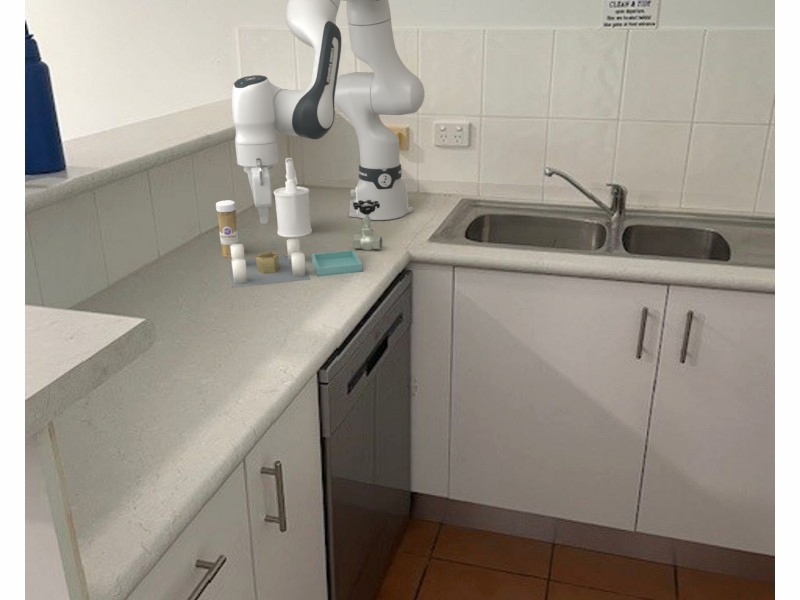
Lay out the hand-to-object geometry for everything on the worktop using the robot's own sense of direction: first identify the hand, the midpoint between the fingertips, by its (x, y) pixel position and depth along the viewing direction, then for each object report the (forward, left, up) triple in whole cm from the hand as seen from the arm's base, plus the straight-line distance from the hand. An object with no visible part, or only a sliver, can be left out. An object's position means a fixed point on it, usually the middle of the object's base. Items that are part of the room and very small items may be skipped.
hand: (262, 217), depth 161 cm
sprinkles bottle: (-14, -8, -13) cm, 21 cm away
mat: (0, 0, -13) cm, 13 cm away
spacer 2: (+5, -6, -13) cm, 15 cm away
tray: (+2, +16, -13) cm, 21 cm away
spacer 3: (-5, +7, -13) cm, 15 cm away
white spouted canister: (-27, +9, -13) cm, 32 cm away
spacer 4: (+5, +7, -13) cm, 15 cm away
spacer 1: (-5, -6, -13) cm, 15 cm away
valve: (-8, +25, -13) cm, 30 cm away
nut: (0, 0, -13) cm, 13 cm away
